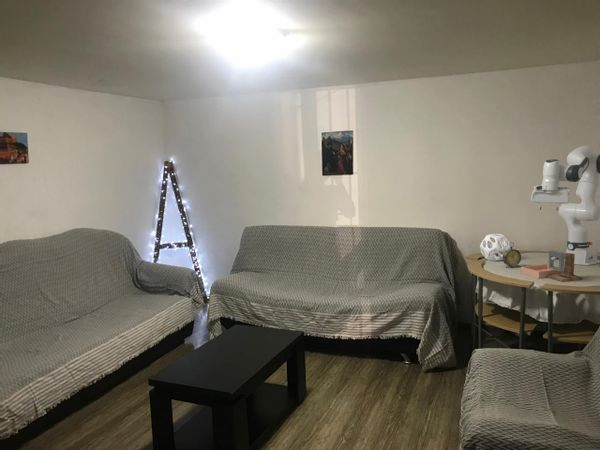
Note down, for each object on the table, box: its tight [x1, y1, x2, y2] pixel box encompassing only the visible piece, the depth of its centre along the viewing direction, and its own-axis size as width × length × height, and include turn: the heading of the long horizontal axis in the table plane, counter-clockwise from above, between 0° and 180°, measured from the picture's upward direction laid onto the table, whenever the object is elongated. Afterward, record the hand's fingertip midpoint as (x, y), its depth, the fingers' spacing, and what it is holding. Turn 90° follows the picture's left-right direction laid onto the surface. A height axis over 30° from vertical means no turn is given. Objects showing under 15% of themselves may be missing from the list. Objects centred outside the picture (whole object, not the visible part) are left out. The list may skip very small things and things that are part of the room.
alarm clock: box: [502, 241, 522, 269], centre depth 307 cm, size 11×5×16 cm, turn 101°
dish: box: [520, 263, 564, 279], centre depth 288 cm, size 20×14×4 cm
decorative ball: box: [479, 233, 512, 262], centre depth 329 cm, size 20×20×17 cm
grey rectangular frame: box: [548, 249, 566, 271], centre depth 274 cm, size 2×8×10 cm, turn 18°
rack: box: [547, 252, 582, 283], centre depth 276 cm, size 17×10×14 cm, turn 108°
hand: (548, 210), depth 285 cm, fingers open, 8 cm apart
